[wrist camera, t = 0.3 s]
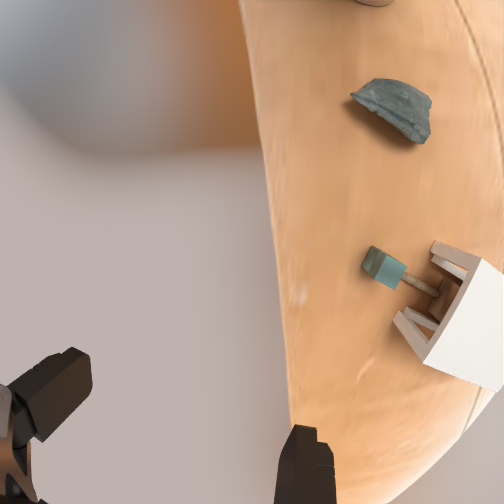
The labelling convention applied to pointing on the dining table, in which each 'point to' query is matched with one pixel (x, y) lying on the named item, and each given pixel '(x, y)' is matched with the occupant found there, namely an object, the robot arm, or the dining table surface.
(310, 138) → the dining table surface
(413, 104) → the stone
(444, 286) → the tethered block
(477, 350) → the white open frame stand
